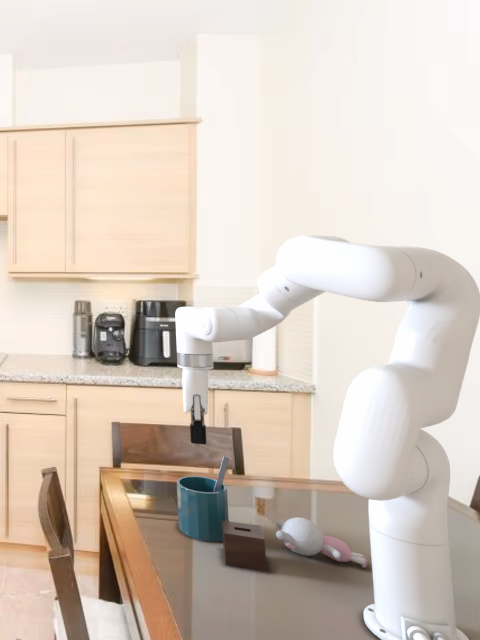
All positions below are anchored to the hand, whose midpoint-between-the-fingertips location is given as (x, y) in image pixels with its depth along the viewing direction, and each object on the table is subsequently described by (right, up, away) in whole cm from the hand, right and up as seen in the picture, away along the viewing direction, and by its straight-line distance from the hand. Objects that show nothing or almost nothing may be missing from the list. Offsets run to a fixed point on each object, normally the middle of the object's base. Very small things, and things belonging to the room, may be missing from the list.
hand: (198, 442), depth 115 cm
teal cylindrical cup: (0, -19, -1) cm, 19 cm away
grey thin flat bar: (+1, -18, -2) cm, 18 cm away
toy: (+18, -18, -13) cm, 29 cm away
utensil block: (+3, -18, -14) cm, 23 cm away
